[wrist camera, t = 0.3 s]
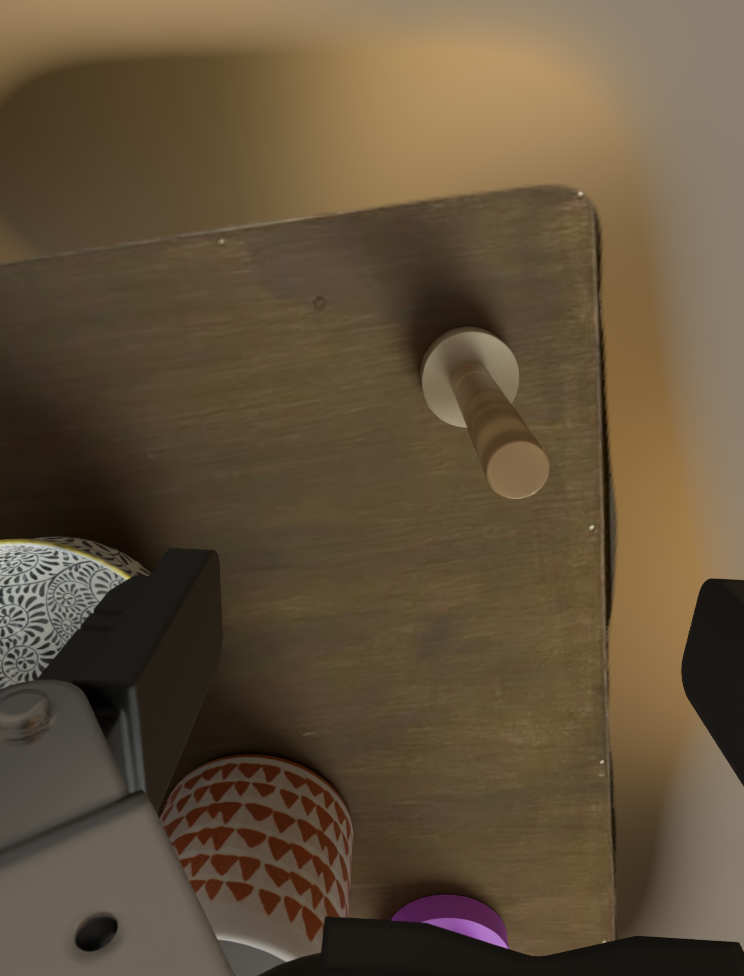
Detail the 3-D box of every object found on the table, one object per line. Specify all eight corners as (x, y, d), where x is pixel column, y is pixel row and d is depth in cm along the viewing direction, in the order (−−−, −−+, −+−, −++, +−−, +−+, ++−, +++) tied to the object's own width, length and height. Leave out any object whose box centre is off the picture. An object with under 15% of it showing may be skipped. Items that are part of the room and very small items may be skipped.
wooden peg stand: (421, 325, 35) (441, 390, 20) (516, 326, 35) (608, 393, 20) (418, 417, 37) (434, 540, 22) (508, 419, 36) (588, 543, 21)
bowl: (86, 433, 38) (14, 478, 31) (280, 616, 41) (257, 693, 34) (-74, 593, 42) (-169, 665, 35) (117, 746, 46) (66, 839, 38)
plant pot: (173, 734, 45) (92, 912, 33) (369, 768, 45) (360, 955, 34) (159, 876, 50) (85, 1076, 38) (337, 905, 50) (319, 1112, 38)
